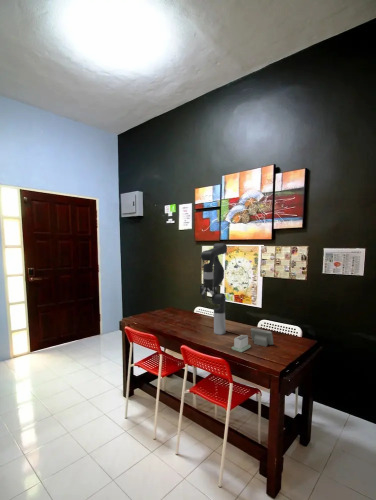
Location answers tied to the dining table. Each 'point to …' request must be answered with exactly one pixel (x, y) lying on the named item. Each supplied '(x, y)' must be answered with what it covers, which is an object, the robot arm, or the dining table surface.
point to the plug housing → (241, 341)
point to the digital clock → (261, 337)
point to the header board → (242, 348)
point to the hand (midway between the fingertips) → (208, 300)
